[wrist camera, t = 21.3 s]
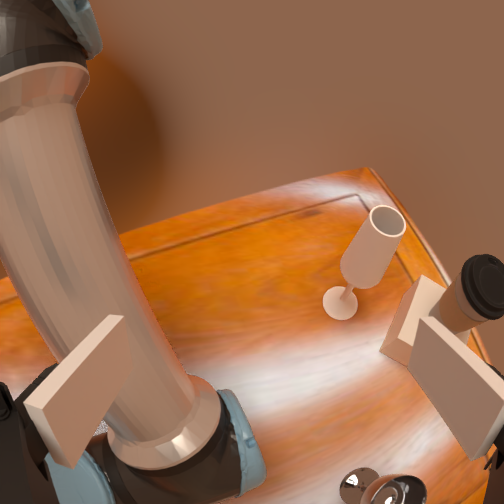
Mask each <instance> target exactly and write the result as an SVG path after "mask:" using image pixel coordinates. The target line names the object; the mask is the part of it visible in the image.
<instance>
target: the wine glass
mask: <svg viewBox="0 0 504 504" xmlns="http://www.w3.org/2000/svg"><path fill="white" fill-rule="evenodd" d="M340 496H341V498H342V499H343V501H344V502H346V503H347V504H425V503H426V500H427V490H426V486H425V484H424V483H423V482H422V480H420V479H419V478H417V477H415V476H411V475H406V474H390V475H385V476H382V477H379V475H378V474H377V472H376V471H374V470H372V469H370V468H359V469H356V470H353V471H352V472H350V473H349V474H348V475H347V476H346V477H345V478H344V479H343V481H342V483H341V485H340Z"/></svg>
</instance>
